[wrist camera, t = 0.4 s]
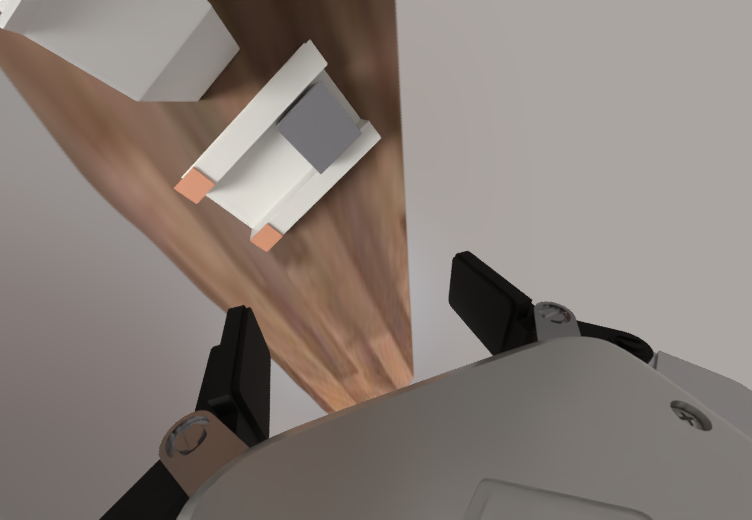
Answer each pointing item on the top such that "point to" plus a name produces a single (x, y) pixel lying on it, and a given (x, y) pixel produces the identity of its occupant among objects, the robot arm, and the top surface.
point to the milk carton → (131, 42)
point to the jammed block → (318, 127)
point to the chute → (272, 156)
